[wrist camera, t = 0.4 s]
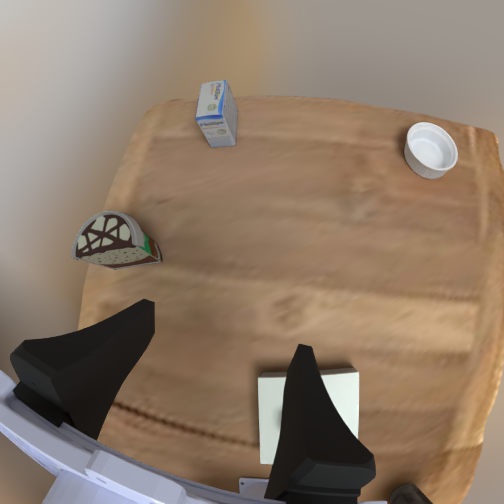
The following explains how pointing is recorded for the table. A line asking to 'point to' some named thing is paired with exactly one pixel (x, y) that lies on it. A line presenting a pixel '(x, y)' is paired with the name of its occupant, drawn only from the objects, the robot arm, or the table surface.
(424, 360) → the table surface
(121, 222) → the food container
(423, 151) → the ramekin
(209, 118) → the medicine box
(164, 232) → the table surface
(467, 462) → the table surface
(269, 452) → the lid
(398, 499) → the beverage cup
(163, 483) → the robot arm
